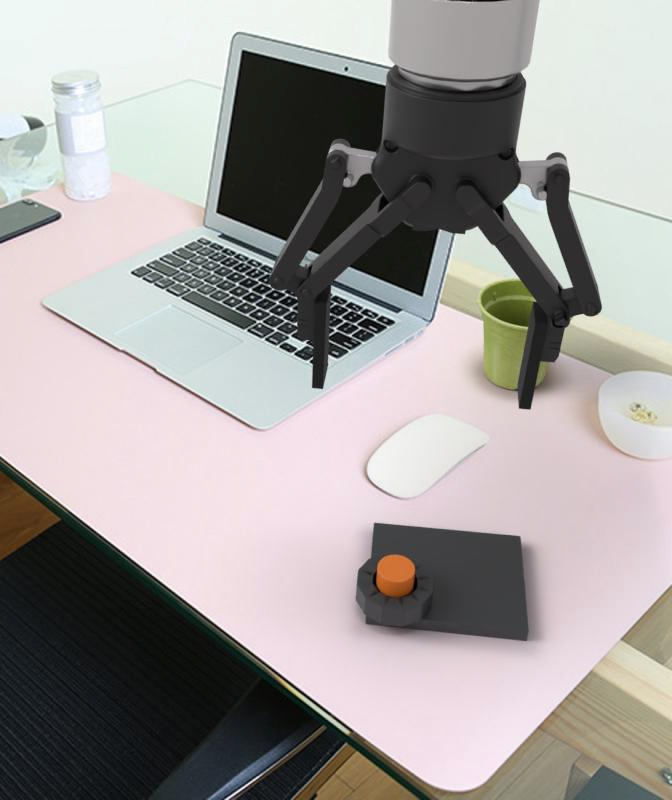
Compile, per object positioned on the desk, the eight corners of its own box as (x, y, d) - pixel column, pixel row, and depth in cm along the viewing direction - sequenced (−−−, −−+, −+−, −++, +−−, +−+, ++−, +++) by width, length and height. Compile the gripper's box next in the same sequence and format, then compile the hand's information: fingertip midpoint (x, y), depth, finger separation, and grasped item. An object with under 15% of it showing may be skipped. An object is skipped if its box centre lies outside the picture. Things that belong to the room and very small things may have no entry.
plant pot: (576, 370, 99) (592, 297, 94) (534, 413, 93) (548, 338, 88) (496, 339, 104) (506, 269, 99) (451, 379, 98) (459, 306, 93)
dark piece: (518, 546, 79) (523, 519, 77) (527, 651, 70) (533, 624, 68) (363, 531, 80) (364, 505, 79) (352, 632, 72) (354, 605, 70)
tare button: (414, 572, 73) (415, 556, 72) (412, 599, 71) (414, 583, 70) (377, 568, 73) (378, 552, 72) (375, 596, 71) (376, 579, 70)
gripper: (686, 58, 53) (606, 373, 65) (243, 36, 56) (248, 340, 69) (713, 105, 47) (619, 441, 59) (215, 77, 50) (227, 401, 63)
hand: (420, 387), depth 64 cm, fingers open, 13 cm apart
